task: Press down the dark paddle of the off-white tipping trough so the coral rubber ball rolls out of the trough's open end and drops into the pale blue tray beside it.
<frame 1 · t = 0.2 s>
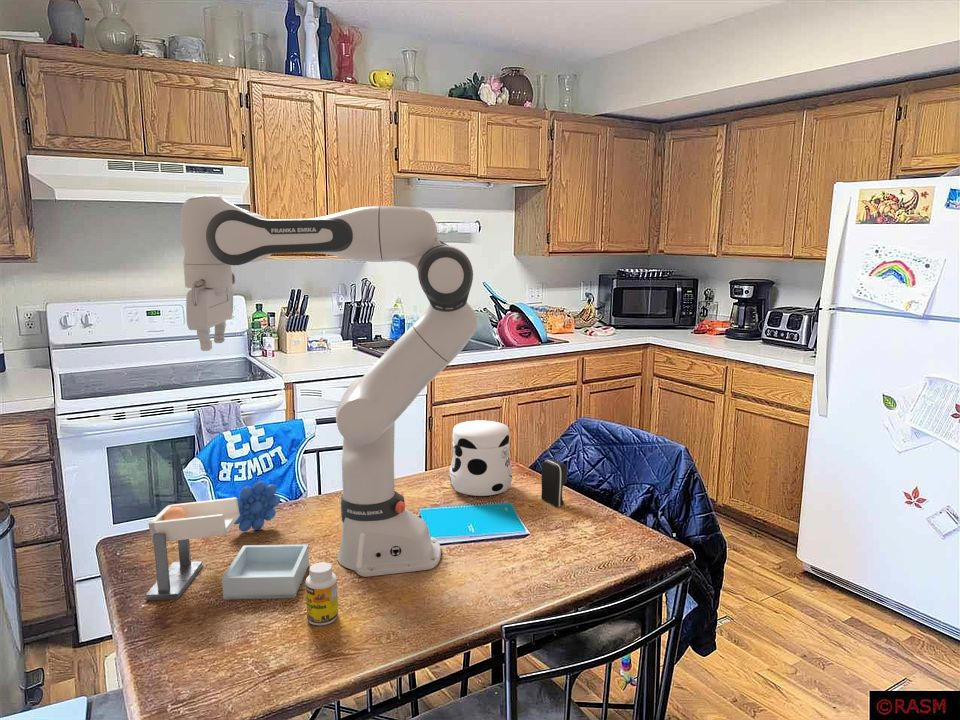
hand: (213, 346, 136), 47 cm above the table, tool pointing down, fingers open, 8 cm apart
trough stand: (175, 582, 134), on the table
grapes: (256, 529, 159), on the table
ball: (174, 517, 131), point 14 cm above the table, tilted 48°, touching tipping trough
supplement bottle: (322, 619, 122), on the table
tipping trough: (202, 511, 135), point 14 cm above the table, hinge at -6.0°, touching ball
battery charger: (554, 503, 175), on the table
pale blue tray: (268, 580, 135), on the table
spotted cookie jar: (480, 491, 183), on the table
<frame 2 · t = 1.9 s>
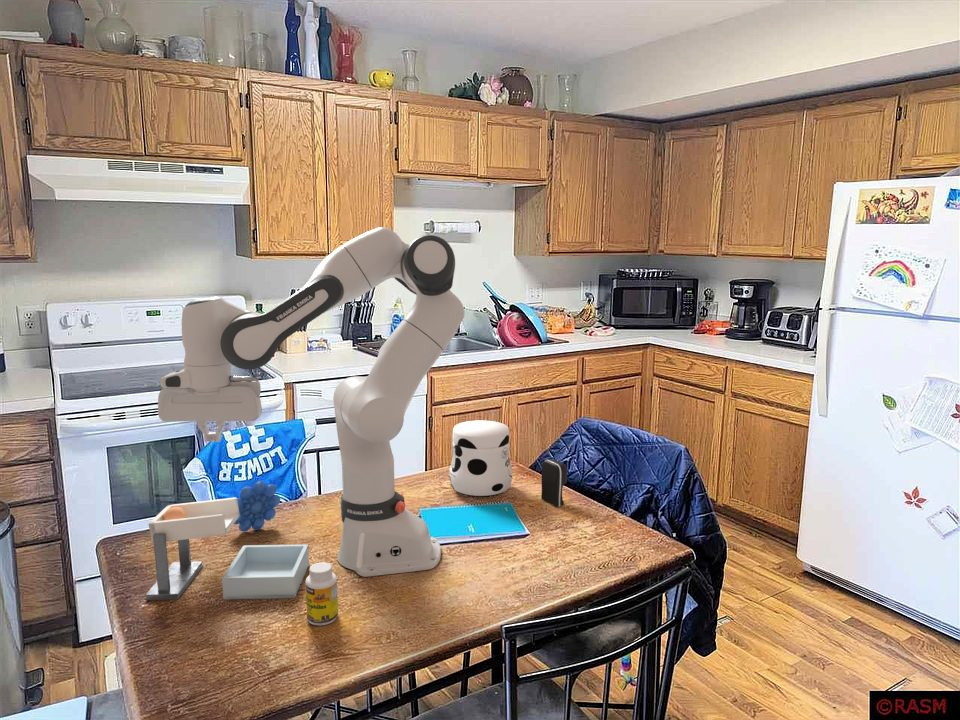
hand: (213, 441, 139), 27 cm above the table, tool pointing down, fingers closed
nothing on the table moved.
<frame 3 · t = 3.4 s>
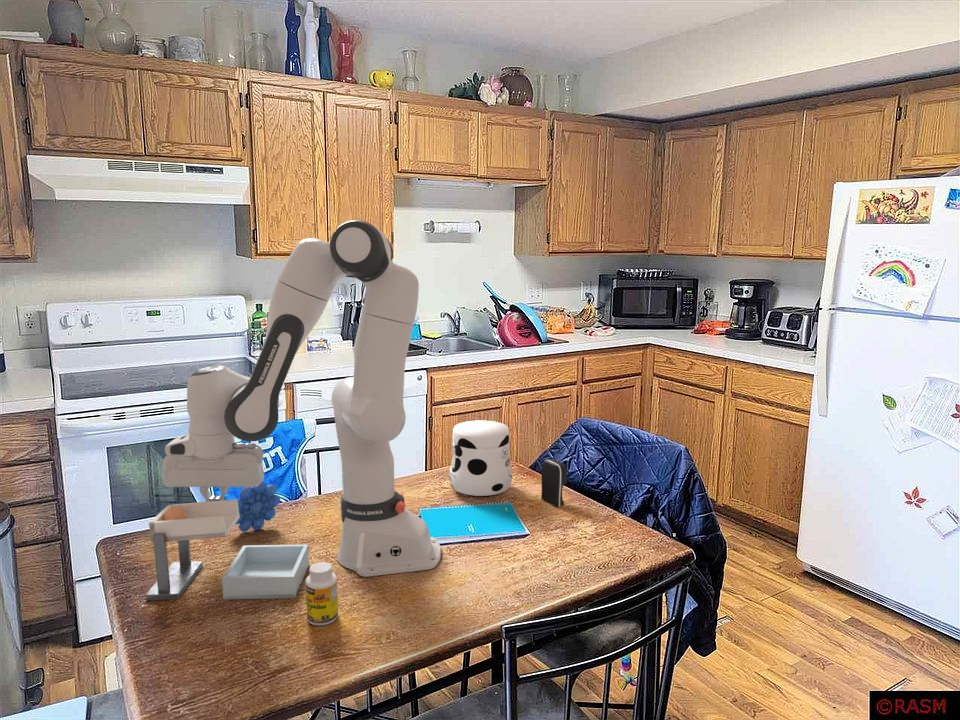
hand: (215, 505, 141), 12 cm above the table, tool pointing down, fingers closed, pressing on tipping trough
tipping trough: (202, 512, 135), point 13 cm above the table, hinge at -3.9°, touching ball, gripper
everything else where it was.
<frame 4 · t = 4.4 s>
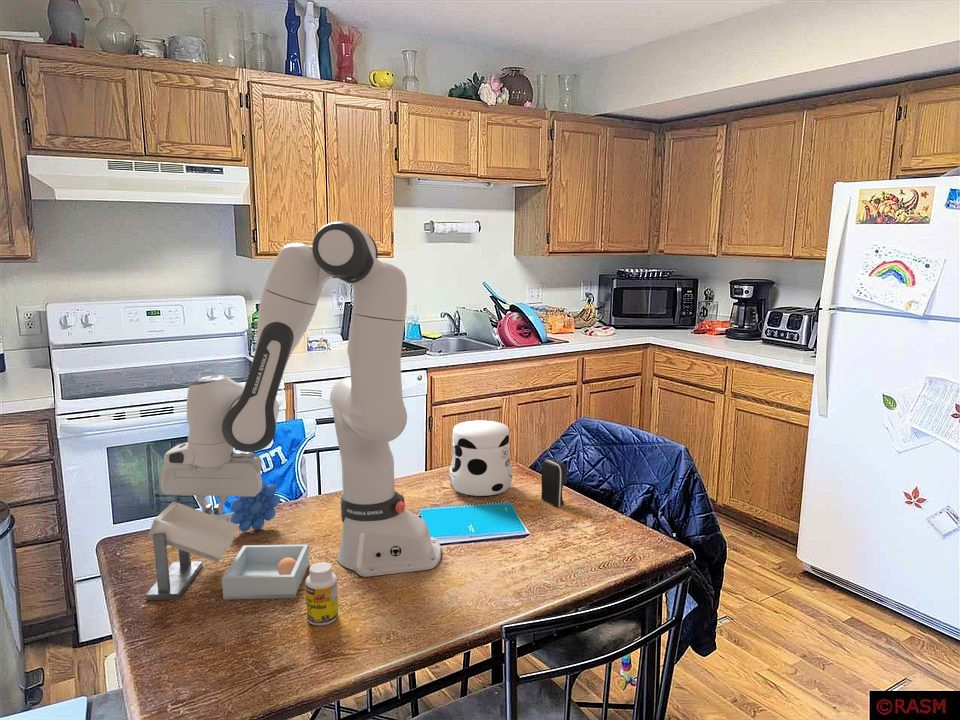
hand: (213, 513, 142), 11 cm above the table, tool pointing down, fingers closed
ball: (287, 567, 135), point 3 cm above the table, tilted 75°, touching pale blue tray
tipping trough: (201, 523, 136), point 11 cm above the table, hinge at 22.9°, touching gripper
everything else where it was.
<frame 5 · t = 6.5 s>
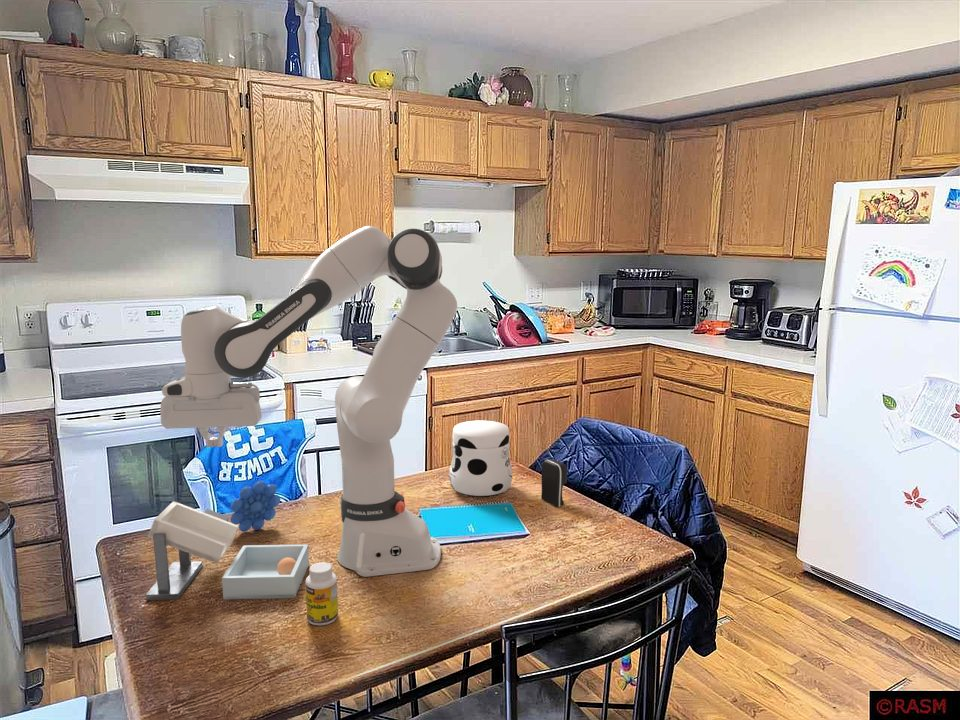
hand: (215, 446, 143), 24 cm above the table, tool pointing down, fingers closed
tipping trough: (201, 523, 136), point 11 cm above the table, hinge at 23.8°
everything else where it was.
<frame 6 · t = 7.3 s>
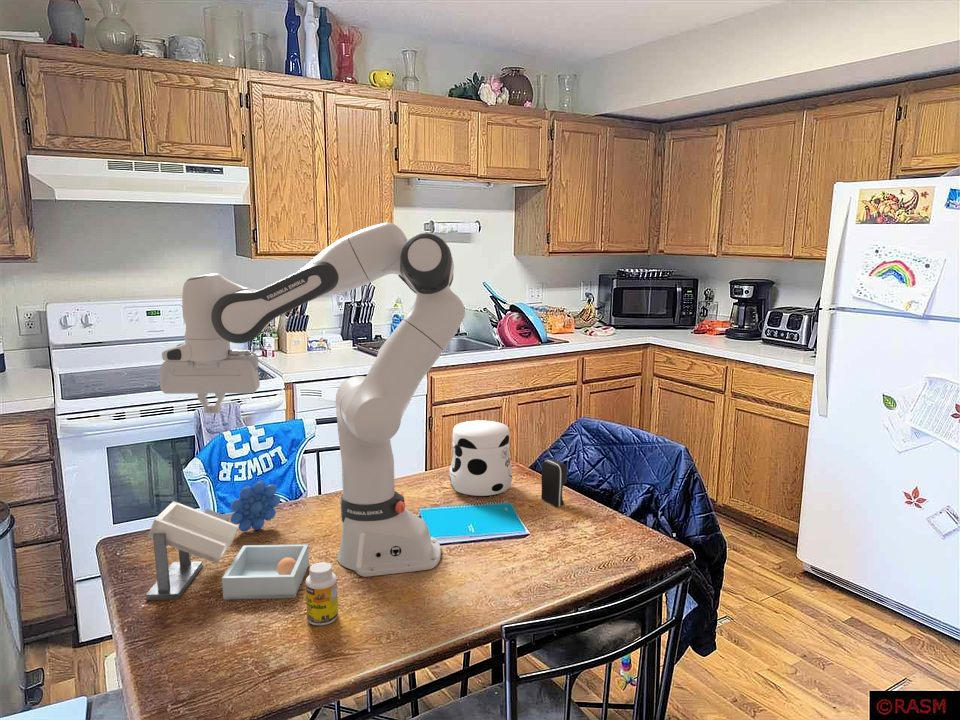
hand: (212, 412, 144), 31 cm above the table, tool pointing down, fingers closed
nothing on the table moved.
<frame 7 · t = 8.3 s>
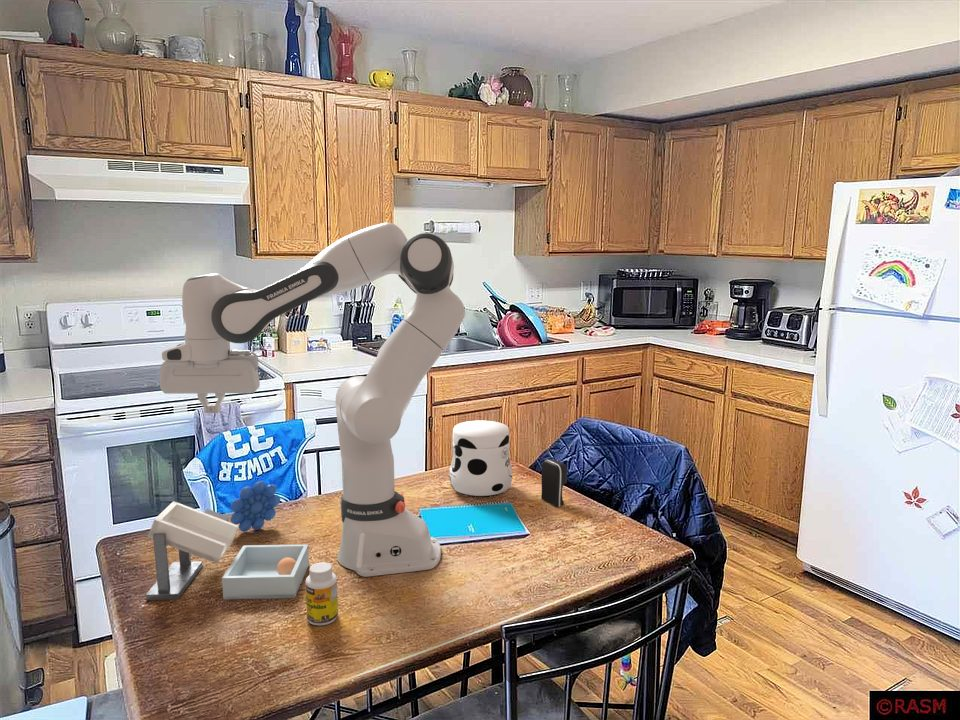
hand: (212, 412, 144), 31 cm above the table, tool pointing down, fingers closed
nothing on the table moved.
at the end: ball inside the target area on the pale blue tray (3.9 cm from its centre), point 2.8 cm above the pale blue tray's base; tipping trough at +24° (first picture: -6°) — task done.
